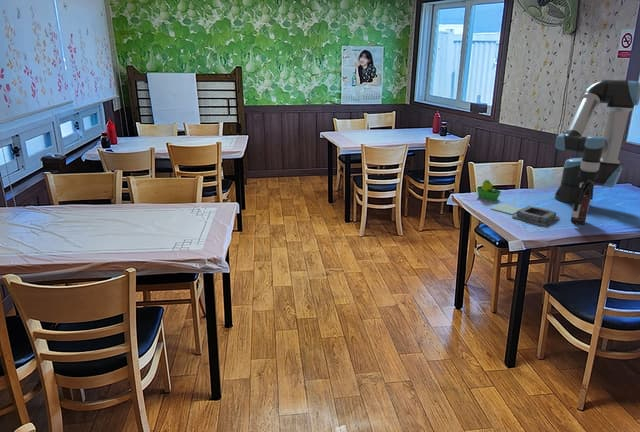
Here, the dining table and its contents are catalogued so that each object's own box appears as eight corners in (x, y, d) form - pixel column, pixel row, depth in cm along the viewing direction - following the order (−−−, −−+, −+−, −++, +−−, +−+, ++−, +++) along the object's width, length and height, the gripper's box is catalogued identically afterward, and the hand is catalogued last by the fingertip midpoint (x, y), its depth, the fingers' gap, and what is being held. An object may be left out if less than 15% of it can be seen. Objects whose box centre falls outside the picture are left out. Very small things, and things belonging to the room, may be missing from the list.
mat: (501, 204, 245) (502, 203, 245) (523, 210, 237) (523, 208, 237) (490, 209, 238) (490, 208, 238) (512, 214, 229) (512, 213, 229)
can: (587, 225, 216) (593, 197, 212) (572, 224, 218) (578, 196, 213) (582, 220, 222) (588, 193, 217) (568, 219, 223) (574, 192, 218)
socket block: (527, 210, 236) (528, 204, 234) (559, 219, 224) (560, 212, 223) (512, 217, 226) (513, 211, 224) (544, 226, 214) (545, 219, 213)
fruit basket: (500, 199, 254) (503, 180, 250) (490, 202, 249) (493, 182, 245) (483, 194, 263) (486, 175, 259) (473, 197, 258) (476, 178, 254)
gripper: (589, 164, 221) (580, 207, 228) (570, 172, 206) (561, 217, 214) (606, 167, 216) (597, 211, 223) (587, 175, 201) (578, 222, 208)
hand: (579, 214), depth 218 cm, fingers open, 11 cm apart
